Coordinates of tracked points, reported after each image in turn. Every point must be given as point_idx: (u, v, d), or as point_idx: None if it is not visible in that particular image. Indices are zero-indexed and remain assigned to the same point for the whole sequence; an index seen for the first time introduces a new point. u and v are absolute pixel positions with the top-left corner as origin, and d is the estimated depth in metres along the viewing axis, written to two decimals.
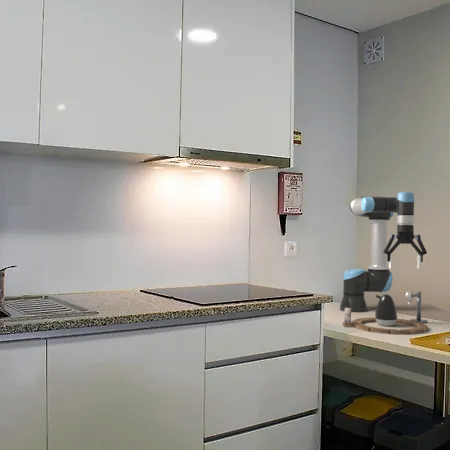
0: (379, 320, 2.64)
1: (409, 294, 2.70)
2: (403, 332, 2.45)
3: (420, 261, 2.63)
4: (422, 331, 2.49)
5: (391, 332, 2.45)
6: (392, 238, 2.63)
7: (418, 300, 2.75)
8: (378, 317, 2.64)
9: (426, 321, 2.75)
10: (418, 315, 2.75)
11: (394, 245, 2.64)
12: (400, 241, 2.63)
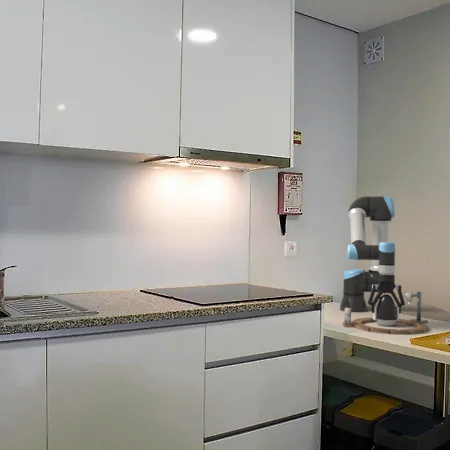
0: (379, 320, 2.64)
1: (409, 294, 2.70)
2: (403, 332, 2.45)
3: (398, 312, 2.66)
4: (422, 331, 2.49)
5: (391, 332, 2.45)
6: (374, 289, 2.66)
7: (418, 300, 2.75)
8: (378, 317, 2.64)
9: (426, 321, 2.75)
10: (418, 315, 2.75)
11: (377, 296, 2.67)
12: (382, 291, 2.65)
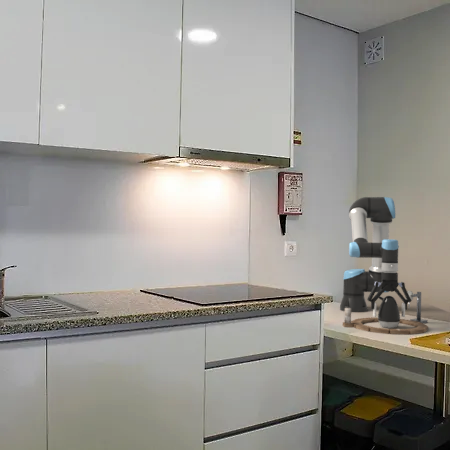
0: (382, 322, 2.59)
1: (409, 294, 2.70)
2: (403, 332, 2.45)
3: (404, 309, 2.61)
4: (422, 331, 2.49)
5: (391, 332, 2.45)
6: (376, 286, 2.61)
7: (418, 300, 2.75)
8: (381, 319, 2.59)
9: (426, 321, 2.75)
10: (418, 315, 2.75)
11: (378, 293, 2.62)
12: (384, 289, 2.60)
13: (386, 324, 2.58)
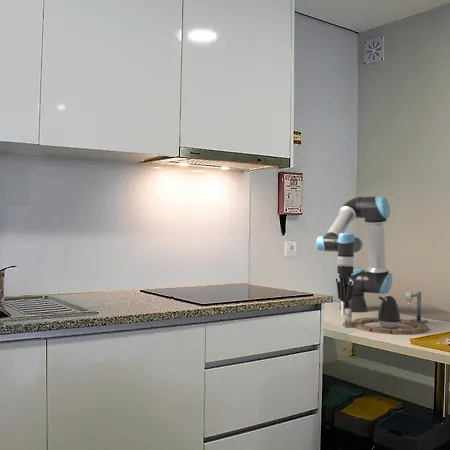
0: (382, 322, 2.59)
1: (409, 294, 2.70)
2: (405, 332, 2.45)
3: (342, 307, 2.62)
4: (423, 331, 2.49)
5: (393, 332, 2.45)
6: (337, 282, 2.67)
7: (418, 300, 2.75)
8: (381, 319, 2.59)
9: (426, 321, 2.75)
10: (418, 315, 2.75)
11: None
12: (340, 283, 2.63)
13: (386, 324, 2.58)
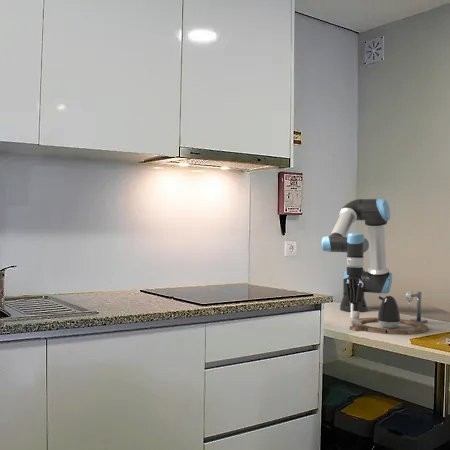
0: (382, 322, 2.59)
1: (409, 294, 2.70)
2: (417, 331, 2.47)
3: (352, 309, 2.55)
4: (427, 329, 2.55)
5: (408, 332, 2.45)
6: (346, 284, 2.60)
7: (418, 300, 2.75)
8: (381, 319, 2.59)
9: (426, 321, 2.75)
10: (418, 315, 2.75)
11: None
12: (349, 285, 2.56)
13: (386, 324, 2.58)
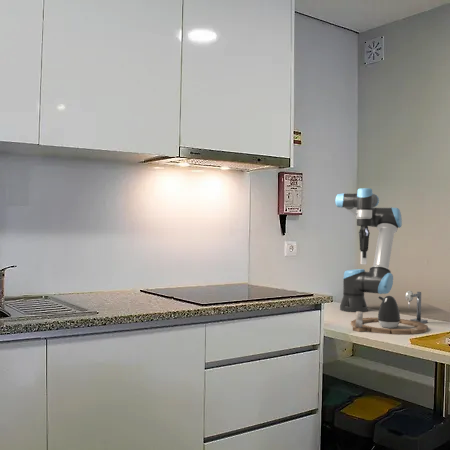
0: (382, 322, 2.59)
1: (409, 294, 2.70)
2: (420, 331, 2.48)
3: (361, 257, 2.83)
4: (427, 328, 2.57)
5: (412, 332, 2.46)
6: (359, 235, 2.89)
7: (418, 300, 2.75)
8: (381, 319, 2.59)
9: (426, 321, 2.75)
10: (418, 315, 2.75)
11: None
12: (360, 235, 2.85)
13: (386, 324, 2.58)
